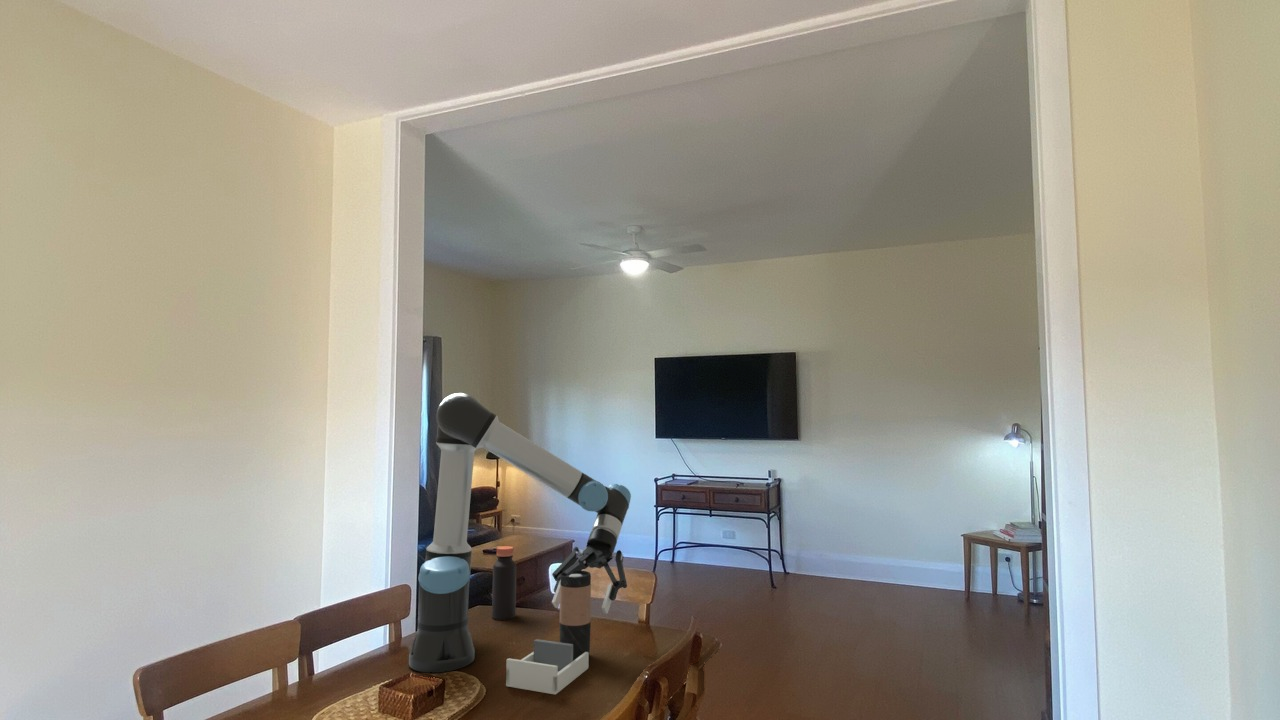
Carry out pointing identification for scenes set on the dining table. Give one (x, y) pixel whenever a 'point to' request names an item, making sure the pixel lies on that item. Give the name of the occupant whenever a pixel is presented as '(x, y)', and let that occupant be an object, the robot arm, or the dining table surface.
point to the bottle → (504, 585)
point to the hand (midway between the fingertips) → (579, 608)
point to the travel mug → (575, 610)
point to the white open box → (543, 674)
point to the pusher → (553, 653)
